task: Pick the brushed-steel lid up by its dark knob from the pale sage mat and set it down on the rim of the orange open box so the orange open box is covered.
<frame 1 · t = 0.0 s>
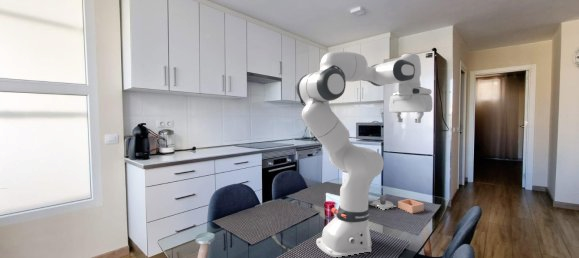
hand: (408, 122, 114), 48 cm above the table, fingers open, 8 cm apart
orange open box: (410, 209, 138), on the table
mat: (382, 205, 144), on the table
cracker box: (353, 203, 149), on the table
lid: (382, 204, 144), point 1 cm above the table, touching mat
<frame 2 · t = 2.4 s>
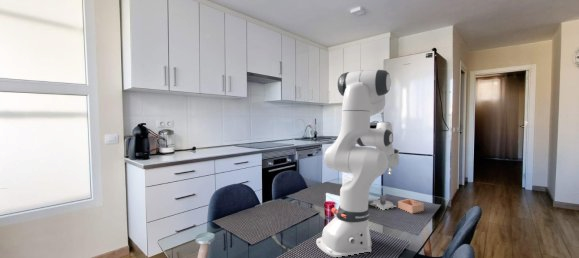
hand: (383, 175, 143), 18 cm above the table, fingers open, 8 cm apart
nothing on the table moved.
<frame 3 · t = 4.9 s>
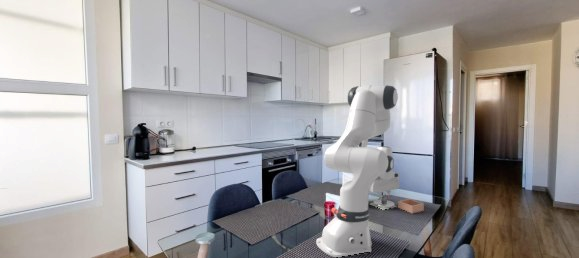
hand: (383, 198, 145), 4 cm above the table, fingers closed on lid, 3 cm apart
cracker box: (353, 203, 149), on the table, touching arm
lid: (384, 204, 145), point 1 cm above the table, touching gripper, mat
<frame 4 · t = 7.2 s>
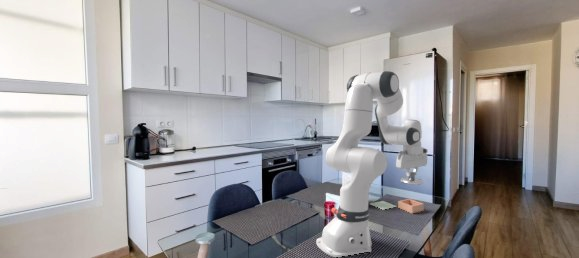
hand: (411, 175, 137), 19 cm above the table, fingers closed on lid, 3 cm apart
cracker box: (353, 203, 149), on the table
lid: (411, 181, 137), point 15 cm above the table, touching gripper
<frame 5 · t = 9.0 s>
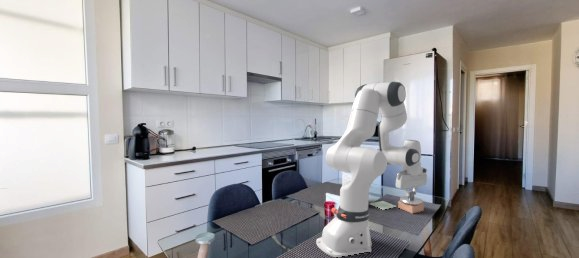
hand: (411, 195, 138), 8 cm above the table, fingers closed on lid, 3 cm apart
lid: (411, 201, 138), point 5 cm above the table, touching gripper
everything else where it was.
when the fingers open (7 cm above the table, at t = 9.8 s): lid stays where it is, resting on orange open box.
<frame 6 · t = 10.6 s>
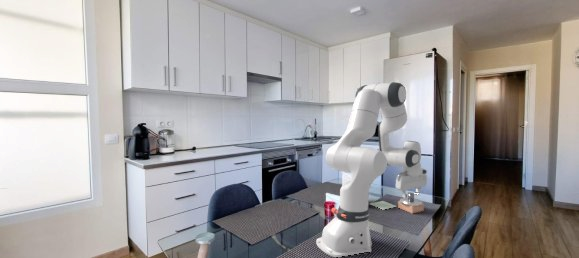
hand: (410, 196, 138), 7 cm above the table, fingers open, 8 cm apart
lid: (410, 202, 138), point 4 cm above the table, touching orange open box
everything else where it was.
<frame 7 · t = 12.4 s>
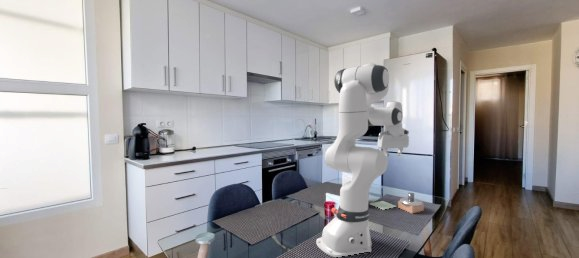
hand: (392, 156, 141), 29 cm above the table, fingers open, 8 cm apart
nothing on the table moved.
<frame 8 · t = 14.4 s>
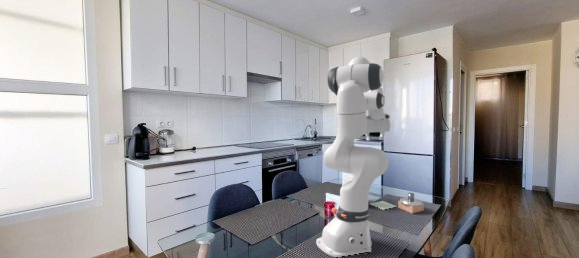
hand: (374, 140, 146), 37 cm above the table, fingers open, 8 cm apart
nothing on the table moved.
at the end: lid 0.1 cm off-centre on the orange open box, point 4.0 cm above the orange open box's base; lid tilted 0°; the gripper is holding nothing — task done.
